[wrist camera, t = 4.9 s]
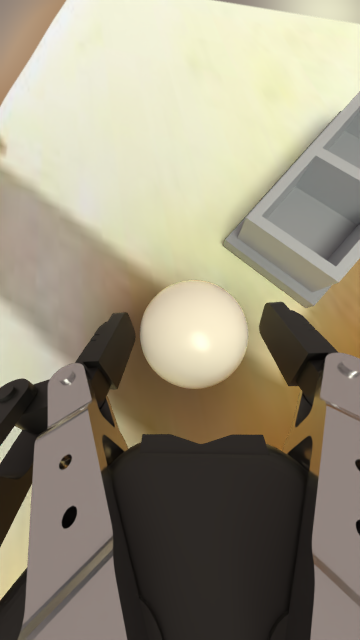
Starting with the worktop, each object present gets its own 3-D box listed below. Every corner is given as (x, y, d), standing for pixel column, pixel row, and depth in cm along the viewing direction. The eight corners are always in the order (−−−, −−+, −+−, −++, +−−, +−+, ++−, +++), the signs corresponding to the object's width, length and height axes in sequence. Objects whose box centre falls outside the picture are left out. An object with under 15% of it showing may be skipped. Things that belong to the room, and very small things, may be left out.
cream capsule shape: (159, 337, 15) (90, 335, 5) (192, 301, 15) (185, 231, 5) (196, 372, 14) (197, 446, 5) (231, 334, 14) (305, 323, 5)
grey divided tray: (223, 245, 16) (231, 219, 12) (331, 124, 16) (369, 65, 13) (305, 307, 14) (341, 298, 11) (422, 173, 15) (493, 122, 11)
